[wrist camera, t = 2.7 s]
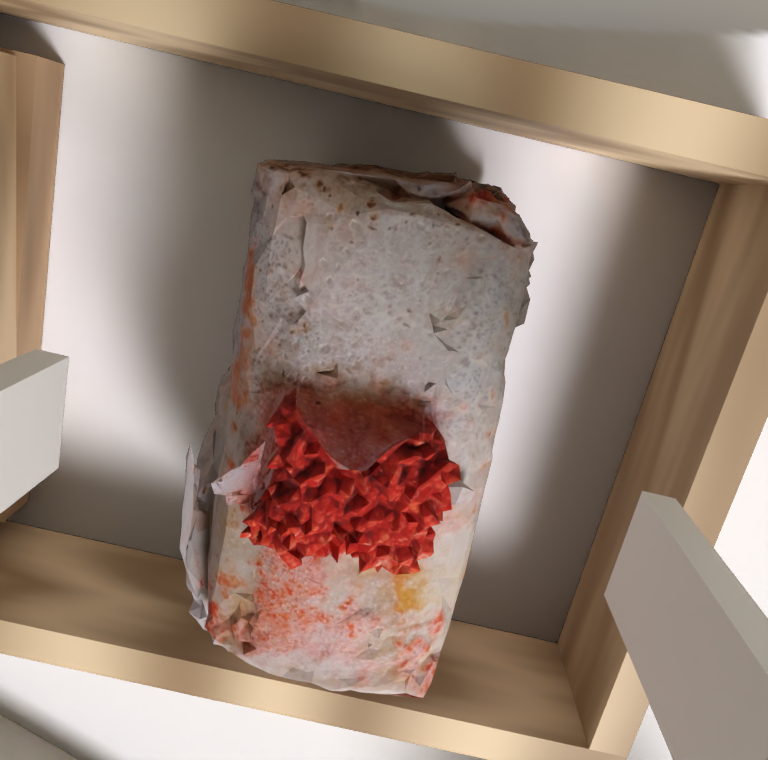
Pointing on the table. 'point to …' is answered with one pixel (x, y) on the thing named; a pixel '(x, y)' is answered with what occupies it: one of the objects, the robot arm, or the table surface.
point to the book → (26, 744)
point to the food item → (354, 422)
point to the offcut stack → (26, 199)
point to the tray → (640, 461)
